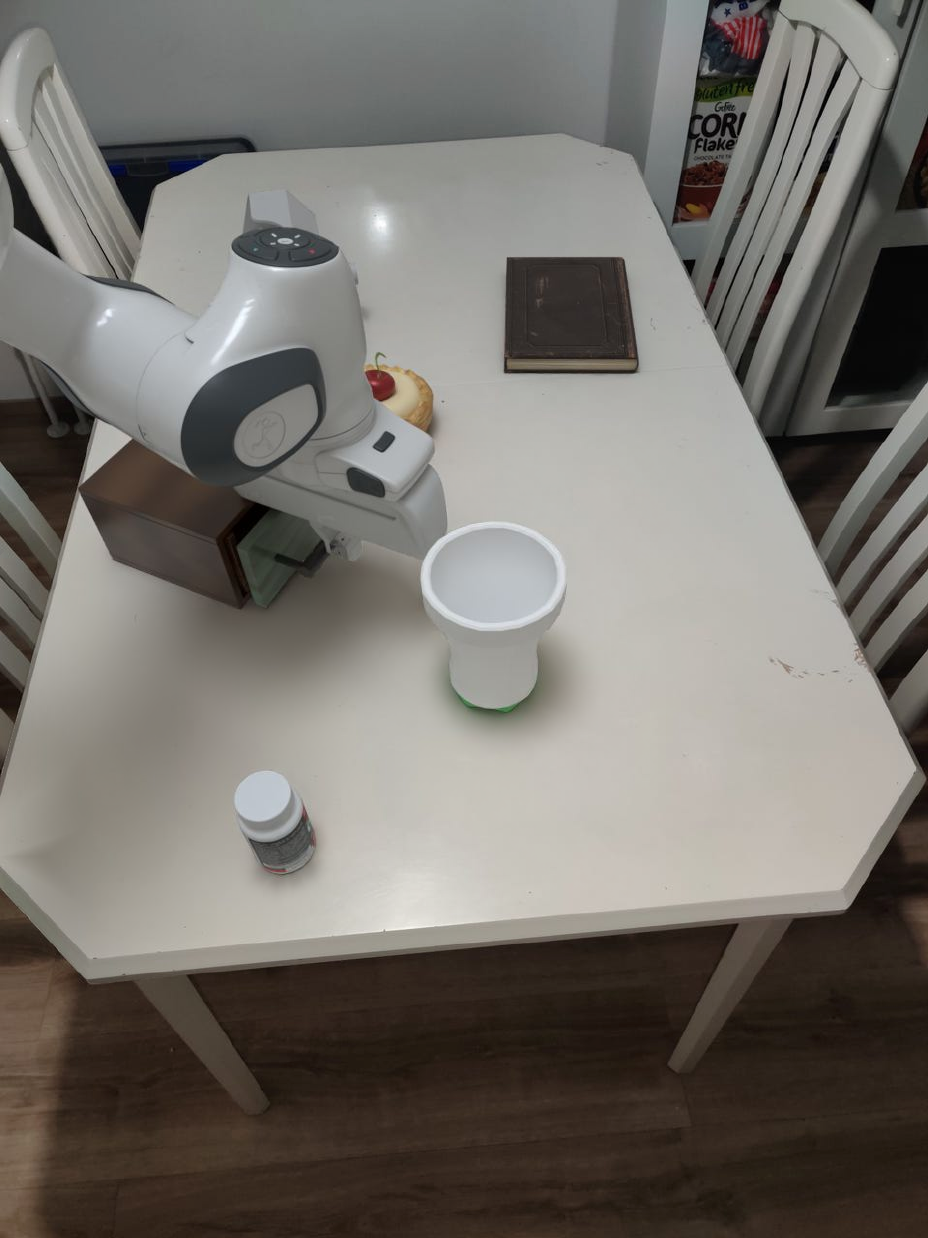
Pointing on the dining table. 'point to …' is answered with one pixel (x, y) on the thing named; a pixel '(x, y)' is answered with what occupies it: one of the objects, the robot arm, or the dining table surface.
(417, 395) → the pastry
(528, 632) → the cup
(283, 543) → the drawer
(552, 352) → the hardcover book
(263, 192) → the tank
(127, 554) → the cabinet
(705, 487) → the dining table surface
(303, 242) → the robot arm
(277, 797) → the pill bottle
